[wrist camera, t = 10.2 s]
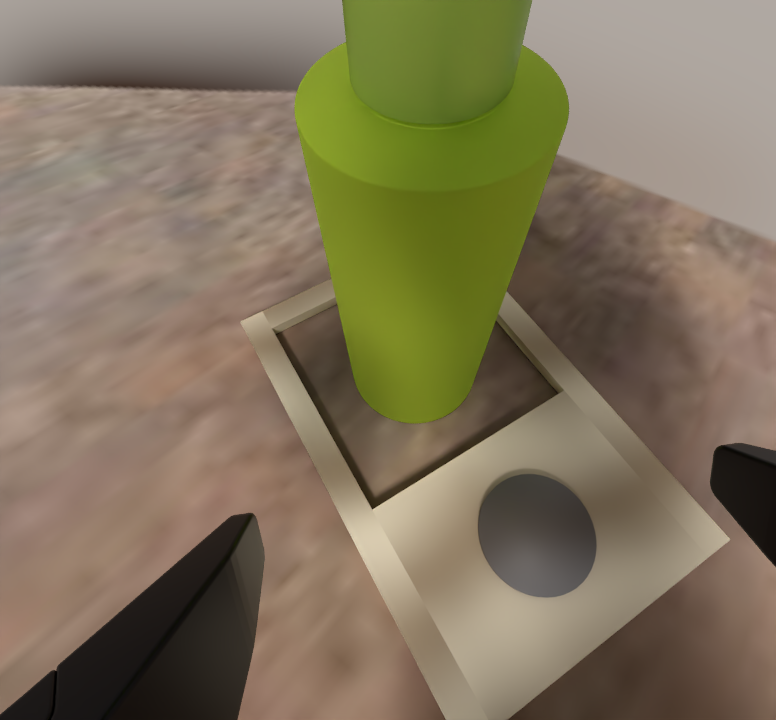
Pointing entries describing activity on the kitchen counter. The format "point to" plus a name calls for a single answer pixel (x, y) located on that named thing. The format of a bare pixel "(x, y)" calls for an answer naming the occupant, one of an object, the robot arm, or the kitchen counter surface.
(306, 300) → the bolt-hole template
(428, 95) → the soap dispenser
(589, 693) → the kitchen counter surface
